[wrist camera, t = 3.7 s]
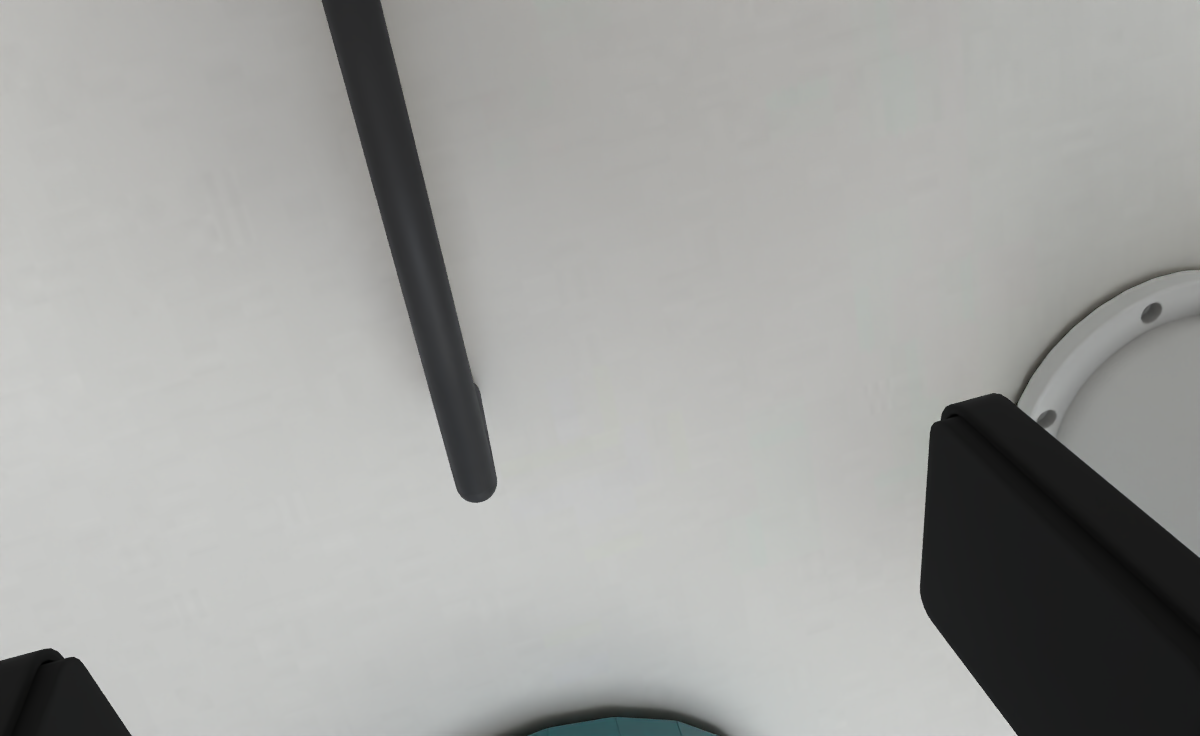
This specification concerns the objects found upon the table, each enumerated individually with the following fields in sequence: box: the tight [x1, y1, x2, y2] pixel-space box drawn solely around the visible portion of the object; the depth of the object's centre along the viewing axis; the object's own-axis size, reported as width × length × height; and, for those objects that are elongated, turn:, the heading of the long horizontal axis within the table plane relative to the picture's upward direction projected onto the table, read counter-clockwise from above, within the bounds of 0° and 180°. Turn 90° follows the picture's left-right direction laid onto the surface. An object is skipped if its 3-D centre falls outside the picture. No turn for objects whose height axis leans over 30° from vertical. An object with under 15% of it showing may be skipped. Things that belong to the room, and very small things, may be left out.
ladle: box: [322, 0, 497, 503], centre depth 23 cm, size 21×5×6 cm, turn 8°
